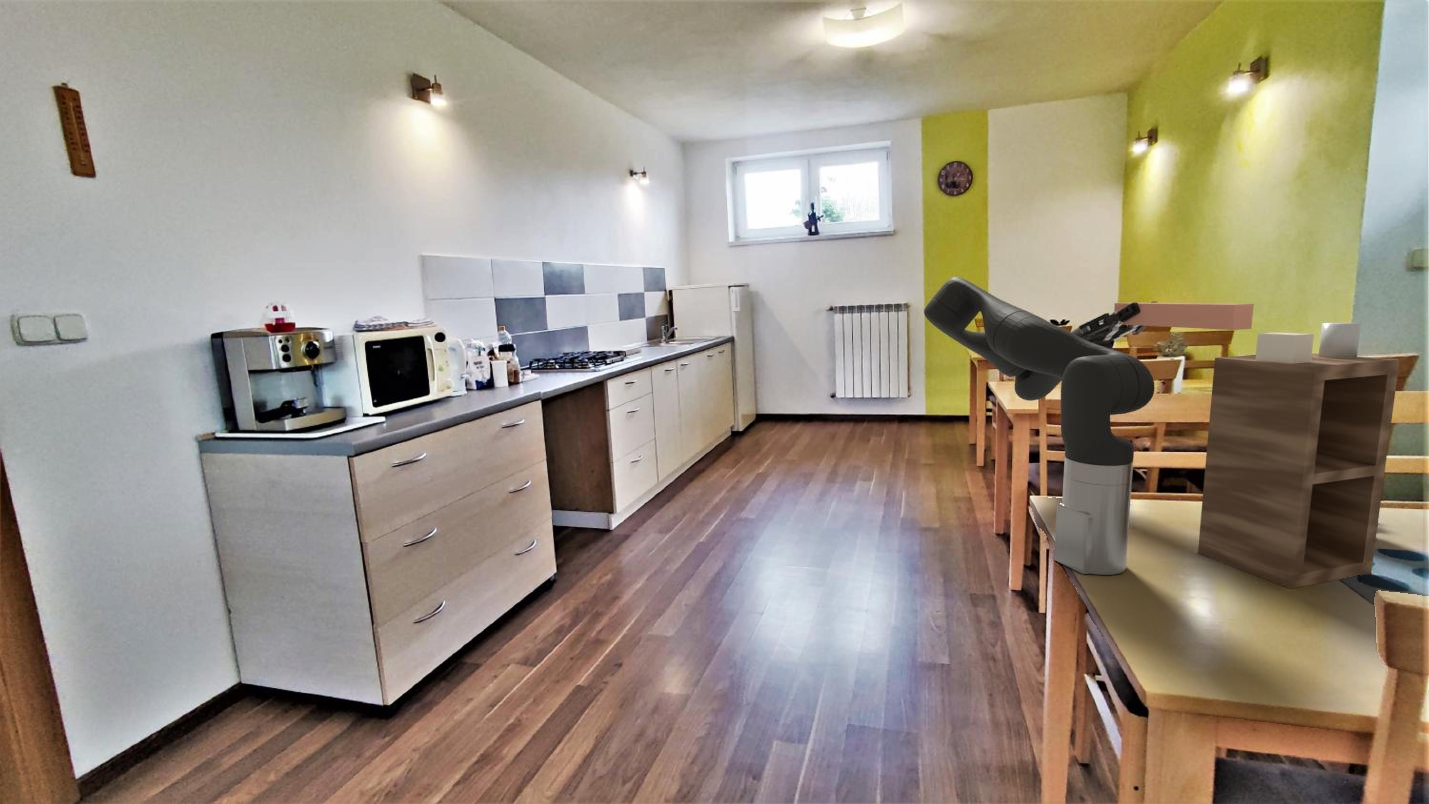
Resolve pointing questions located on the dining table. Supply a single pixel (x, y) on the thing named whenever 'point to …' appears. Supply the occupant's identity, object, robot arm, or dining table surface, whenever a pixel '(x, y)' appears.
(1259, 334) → the off-white block brick
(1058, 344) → the robot arm
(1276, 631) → the dining table surface
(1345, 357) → the grey-blue round brick
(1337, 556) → the walnut shelf
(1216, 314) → the coral bar brick
